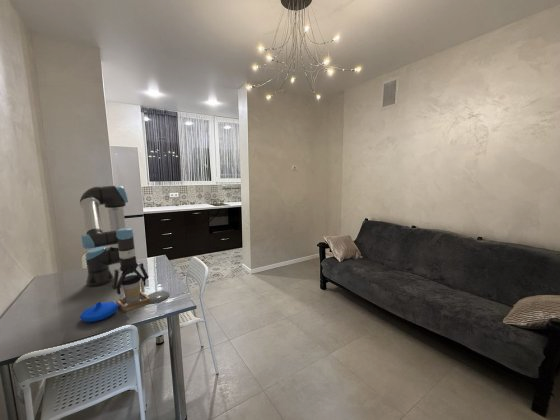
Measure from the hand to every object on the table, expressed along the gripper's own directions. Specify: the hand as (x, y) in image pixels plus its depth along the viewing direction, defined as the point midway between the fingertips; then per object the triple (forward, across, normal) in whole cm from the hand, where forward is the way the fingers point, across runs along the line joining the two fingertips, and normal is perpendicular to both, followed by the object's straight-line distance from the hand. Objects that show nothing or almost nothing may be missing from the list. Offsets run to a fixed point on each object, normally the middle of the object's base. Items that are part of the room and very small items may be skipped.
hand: (132, 295), depth 138 cm
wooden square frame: (+5, 0, 0) cm, 5 cm away
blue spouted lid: (+5, -16, 0) cm, 16 cm away
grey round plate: (+5, +11, -4) cm, 13 cm away
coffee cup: (+5, 0, 0) cm, 5 cm away
